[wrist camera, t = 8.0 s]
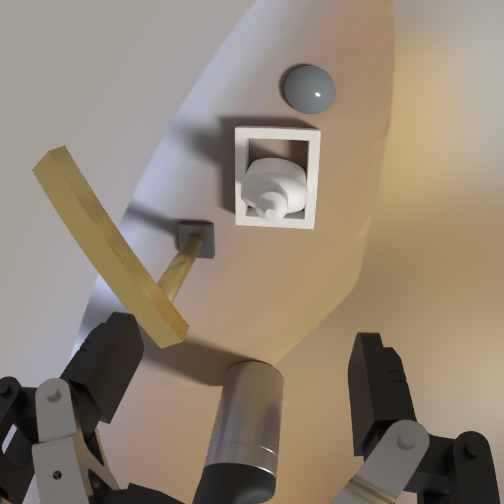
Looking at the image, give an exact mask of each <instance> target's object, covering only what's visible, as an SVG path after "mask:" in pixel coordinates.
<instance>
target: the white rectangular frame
mask: <svg viewBox="0 0 504 504" xmlns="http://www.w3.org/2000/svg"><path fill="white" fill-rule="evenodd" d="M320 133H321V131H320V130H319V129H314V128H299V127H279V126H237V127H236V128H235V194H236V225H249V226H268V227H286V228H302V229H314V219H315V208H316V195H317V182H318V167H319V151H320ZM249 138H264V139H289V140H306V141H308V149H307V168H306V181H307V188H308V193H307V199H306V204H305V206H304V211H297V212H293V213H288V214H286V215H285V216H284V217H283V218H282V219H280V220H278V221H275V222H271V221H270V222H269V221H266V220H263V219H262V218H260V217H259V215H258V214H257V213H256V210H255V208H249V205H248V204H246V203H245V202H244V201H243V200H242V199H241V185H242V180H243V178H244V176H245V174H246V172H247V170H248V169H249Z"/></svg>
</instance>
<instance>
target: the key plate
mask: <svg viewBox="0 0 504 504" xmlns="http://www.w3.org/2000/svg"><path fill="white" fill-rule="evenodd" d="M177 227H178V237H179V247H180V248H181V247H182V245H183V244H184V243H185V241H186V240H187V238H188V237H189V236H191V235H197V236H199V237H200V238H201V239H202V240H203V247H202V249H201V251H200V252H199V254H198V256H197V258H211V259H213V258H214V256H215V246H214V225H213V223H193V222H180V223H179V224H178V225H177Z"/></svg>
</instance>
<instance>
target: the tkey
mask: <svg viewBox="0 0 504 504" xmlns="http://www.w3.org/2000/svg"><path fill="white" fill-rule="evenodd" d="M33 172H34V174H35V176H36V177H37V179H38V181H39V183H40V184H41V186H42V188H43V189H44V191H45V193H46V195H47V196H48V198H49V199H50V201H51V203H52V204H53V206H54V207H55V209H56V211H57V212H58V214H59V215H60V217H61V219H62V220H63V222H64V223H65V225H66V226H67V228H68V229H69V231H70V232H71V234H72V235H73V237H74V238H75V240H76V241H77V243H78V244H79V246H80V247H81V249H82V250H83V251H84V253H85V254H86V256H87V257H88V258H89V260H90V261H91V262H92V264H93V265H94V267H95V268H96V269H97V271H98V272H99V274H100V275H101V276H102V278H103V279H104V280H105V282H106V283H107V284H108V286H109V287H110V288H111V289H112V291H113V292H114V293H115V295H116V296H117V297H118V298H119V300H120V301H121V302H122V303H123V305H124V306H125V307H126V308H127V310H128V311H129V312H130V313H131V314H133V315H134V316H135V318H136V321H137V322H138V323H139V324H140V325H141V327H142V328H143V329H144V330H145V331H146V332H147V334H148V335H149V336H150V337H151V338H152V339H153V340H154V342H155V343H156V344H157V345H158V346H159V347H160V348H161V349H162V348H165V347H168V346H171V345H174V344H177V343H180V342H183V340H184V338H185V336H186V333H187V331H188V328H189V325H188V324H187V322H186V321H185V320H184V319H183V317H182V316H181V315H180V313H179V312H178V311H177V310H176V308H175V307H174V306H173V305H172V302H173V300H174V298H175V297H176V295H177V293H178V291H179V289H180V287H181V285H182V284H183V282H184V280H185V278H186V276H187V274H188V272H189V271H190V269H191V267H192V265H193V263H194V262H195V260H196V258H197V256H198V254H199V252H200V251H201V249H202V247H203V240H202V239H201V238H200V237H199V236H197V235H191V236H189V237H188V238H187V240H186V241H185V243H184V244H183V245H182V247H181V248H180V250H179V251H178V253H177V254H176V256H175V257H174V259H173V260H172V262H171V263H170V265H169V266H168V268H167V269H166V271H165V272H164V274H163V275H162V277H161V278H160V280H159V282H158V283H157V284H156V282H155V281H154V280H153V278H152V277H151V276H150V274H149V273H148V272H147V270H146V269H145V267H144V266H143V265H142V263H141V262H140V261H139V259H138V258H137V256H136V255H135V254H134V252H133V251H132V249H131V248H130V246H129V245H128V244H127V242H126V241H125V239H124V238H123V236H122V235H121V233H120V232H119V231H118V229H117V228H116V226H115V225H114V223H113V222H112V220H111V219H110V217H109V216H108V214H107V213H106V211H105V210H104V208H103V207H102V205H101V204H100V202H99V200H98V199H97V197H96V196H95V194H94V193H93V191H92V189H91V188H90V186H89V185H88V183H87V181H86V180H85V178H84V177H83V175H82V173H81V172H80V170H79V168H78V167H77V165H76V163H75V162H74V160H73V158H72V157H71V155H70V153H69V152H68V150H67V148H66V146H62V147H59V148H56V149H53V150H50V151H48V153H47V154H46V155H45V156H44V157H43V158H42V159H41V160H40V162H39V163H38V164H37V165H36V166H35V167H34V169H33Z"/></svg>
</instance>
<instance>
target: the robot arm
mask: <svg viewBox="0 0 504 504" xmlns="http://www.w3.org/2000/svg"><path fill="white" fill-rule="evenodd" d="M143 351H144V346H143V341H142V338H141V335H140V332H139V328H138V325H137V322H136V318H135V316H134V315H133V314H127V313H120V312H113V313H112V314H111V316H110V317H109V319H108V320H107V321H106V323H101V324H100V325H98V326H97V327H96V328H94V329H93V330H92V331H91V332H90V334H89V335H88V336H87V338H86V339H85V342H83V344H82V345H81V346H80V350H78V351H77V352H76V354H75V355H74V357H73V358H72V360H71V361H70V363H69V364H68V366H67V367H66V369H65V370H64V372H63V373H62V375H61V376H60V377H59V378H52V379H49V380H46V381H45V382H43V383H42V384H41V385H40V386H39V387H38V388H30V387H22V386H21V385H20V383H19V382H18V380H17V379H16V378H14V377H4V378H2V379H0V504H22V503H23V500H24V498H25V495H26V493H27V490H28V488H29V485H30V483H31V480H32V478H33V475H34V473H35V475H36V481H37V486H38V491H39V497H40V501H41V504H185V503H182V502H180V501H178V500H176V499H174V498H172V497H170V496H168V495H166V494H164V493H162V492H160V491H157V490H153V489H149V488H146V487H142V486H138V485H136V484H132V483H129V485H128V488H127V489H120V488H119V485H118V483H117V482H116V480H115V478H114V477H113V475H112V473H111V471H110V469H109V466H108V463H107V460H106V456H105V453H104V450H103V447H102V443H101V439H100V436H99V432H98V429H97V428H96V426H97V424H98V422H99V421H101V422H105V423H108V424H110V422H111V420H112V418H113V416H114V414H115V412H116V410H117V408H118V406H119V404H120V402H121V400H122V398H123V395H124V393H125V391H126V389H127V387H128V385H129V383H130V381H131V379H132V377H133V375H134V373H135V371H136V369H137V367H138V365H139V363H140V361H141V359H142V357H143ZM283 384H284V380H283V376H282V374H281V373H280V372H279V371H278V370H277V369H275V368H274V367H272V366H270V365H268V364H265V363H262V362H255V361H247V362H241V363H238V364H235V365H233V366H232V367H231V368H229V369H228V371H227V373H226V377H225V381H224V385H223V389H222V393H221V397H220V402H219V405H218V410H217V414H216V418H215V422H214V426H213V430H212V435H211V439H210V443H209V447H208V452H207V456H206V461H205V465H204V469H203V473H202V477H201V480H200V482H199V485H198V487H197V490H196V493H195V496H194V499H193V503H192V504H259V503H263V502H266V501H269V500H270V499H271V498H272V497H273V496H274V493H275V487H276V476H277V465H278V453H279V441H280V440H279V439H280V428H281V414H282V402H283V386H284V385H283ZM348 385H349V394H350V406H351V418H352V430H353V446H354V456H364V463H363V465H362V466H361V467H360V469H359V470H358V471H357V472H356V474H355V475H354V476H353V477H352V478H351V480H350V481H349V482H348V483H347V484H346V485H345V486H344V487H343V489H342V490H341V491H340V492H339V493H338V495H336V497H335V498H334V499H333V500H332V501H331V502H330V503H329V504H395V502H396V500H397V498H398V497H399V495H400V494H401V492H402V491H407V492H413V493H417V504H500V499H499V492H498V486H497V480H496V475H495V469H494V464H493V459H492V454H491V450H490V446H489V443H488V441H487V439H486V438H485V437H484V436H483V435H482V434H480V433H478V432H475V431H467V432H464V433H462V434H460V435H459V436H458V437H457V438H456V439H450V438H444V437H438V436H434V435H431V434H429V433H428V432H427V431H426V429H425V428H424V427H423V426H422V425H421V424H419V423H418V422H417V420H416V417H415V413H414V408H413V404H412V399H411V396H410V391H409V387H408V384H407V382H406V376H405V373H404V369H403V365H402V361H401V358H400V356H398V354H397V353H396V352H395V350H394V349H393V348H392V347H387V348H386V347H383V344H382V340H381V337H380V334H379V333H364V332H363V333H360V332H358V333H357V335H356V339H355V342H354V346H353V350H352V354H351V357H350V361H349V365H348ZM12 424H14V426H15V427H16V428H17V430H16V432H15V434H14V436H13V438H12V440H11V441H10V443H9V446H8V448H7V450H6V452H5V453H3V451H2V444H3V442H4V440H5V438H6V436H7V434H8V432H9V430H10V428H11V426H12Z"/></svg>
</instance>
